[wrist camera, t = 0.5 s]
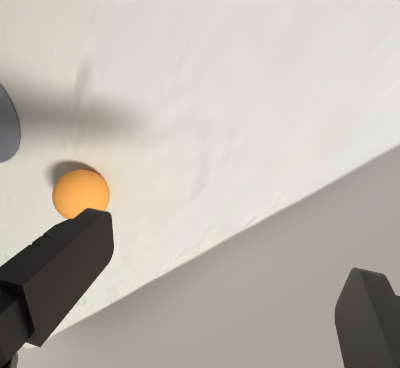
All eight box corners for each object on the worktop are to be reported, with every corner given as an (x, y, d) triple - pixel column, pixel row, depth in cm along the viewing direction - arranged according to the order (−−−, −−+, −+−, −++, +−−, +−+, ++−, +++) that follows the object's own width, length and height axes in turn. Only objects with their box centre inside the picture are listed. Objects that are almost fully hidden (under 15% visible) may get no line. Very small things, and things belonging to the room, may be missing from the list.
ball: (81, 152, 32) (42, 174, 27) (125, 177, 32) (94, 204, 27) (72, 188, 35) (36, 214, 30) (112, 211, 35) (83, 241, 30)
